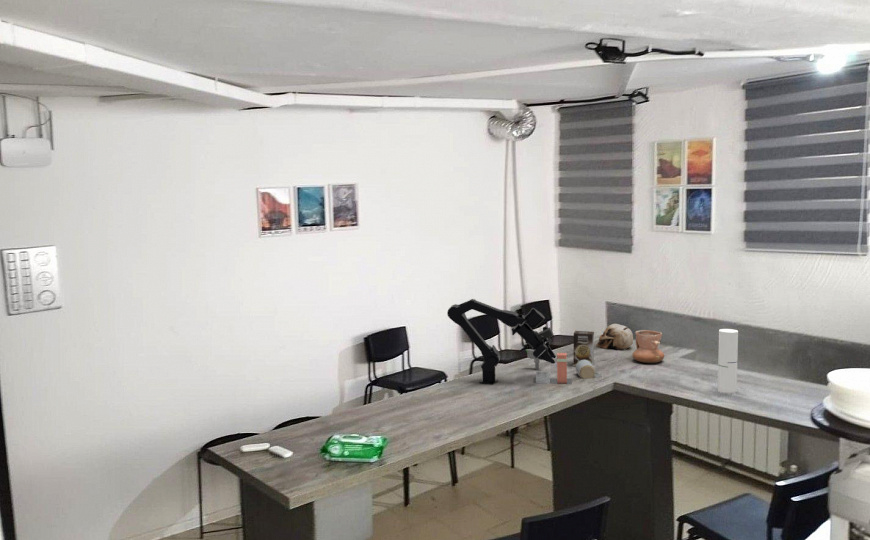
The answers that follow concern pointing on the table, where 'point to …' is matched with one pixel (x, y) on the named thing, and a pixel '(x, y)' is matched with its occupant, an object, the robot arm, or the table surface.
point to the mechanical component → (536, 360)
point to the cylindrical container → (727, 360)
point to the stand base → (554, 381)
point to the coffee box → (583, 347)
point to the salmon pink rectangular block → (561, 367)
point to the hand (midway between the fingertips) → (554, 360)
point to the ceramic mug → (586, 369)
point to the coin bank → (616, 337)
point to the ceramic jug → (648, 347)
